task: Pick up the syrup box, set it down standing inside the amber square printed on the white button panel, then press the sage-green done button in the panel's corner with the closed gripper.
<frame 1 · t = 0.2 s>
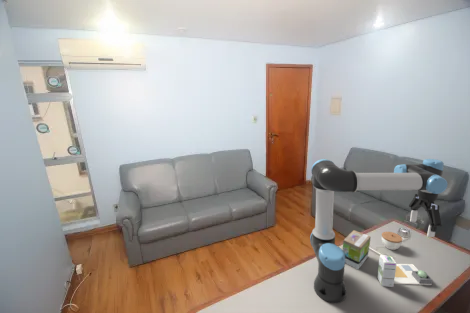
hand: (421, 228, 113), 27 cm above the table, fingers open, 13 cm apart
done button: (421, 277, 115), point 2 cm above the table, slide at 0.0 cm
white button panel: (403, 274, 120), on the table
lidded jar: (390, 247, 141), on the table
tea box: (354, 259, 132), on the table
syrup box: (384, 282, 115), on the table
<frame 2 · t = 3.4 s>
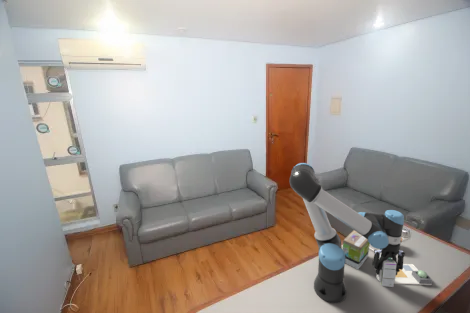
hand: (385, 279, 115), 2 cm above the table, fingers closed on syrup box, 6 cm apart
syrup box: (384, 282, 115), on the table, touching gripper
everything else where it was.
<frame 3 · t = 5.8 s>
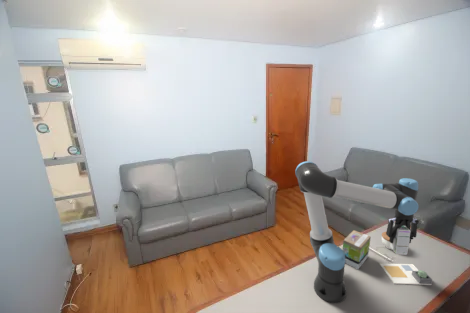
hand: (398, 247, 117), 16 cm above the table, fingers closed on syrup box, 6 cm apart
syrup box: (398, 251, 118), point 14 cm above the table, touching gripper
everything else where it was.
when the fingers open (4 cm above the table, at t = 8.1 s): syrup box drops 1 cm, resting on white button panel.
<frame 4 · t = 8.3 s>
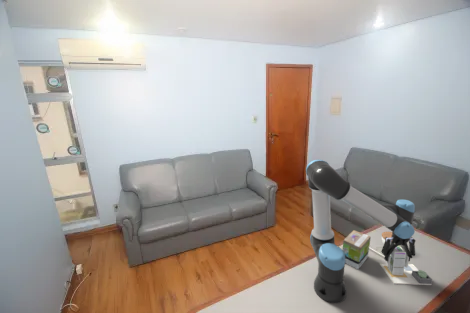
hand: (396, 265, 120), 5 cm above the table, fingers open, 8 cm apart
syrup box: (394, 271, 121), point 1 cm above the table, touching white button panel
everything else where it was.
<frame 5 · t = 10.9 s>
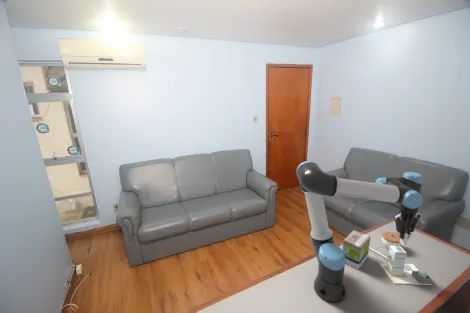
hand: (403, 243, 116), 19 cm above the table, fingers closed
nothing on the table moved.
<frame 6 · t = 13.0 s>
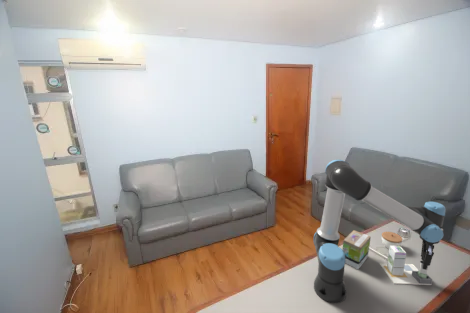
hand: (422, 272, 114), 5 cm above the table, fingers closed
done button: (421, 277, 115), point 1 cm above the table, slide at 0.2 cm, touching gripper
everything else where it was.
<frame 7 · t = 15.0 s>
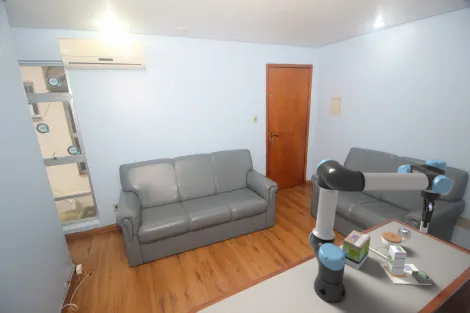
hand: (423, 231, 116), 24 cm above the table, fingers closed
done button: (421, 278, 115), point 1 cm above the table, slide at 0.9 cm
everything else where it was.
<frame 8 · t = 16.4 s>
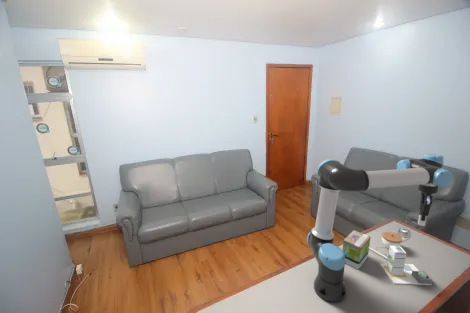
hand: (421, 224, 118), 26 cm above the table, fingers closed
nothing on the table moved.
at the end: syrup box inside the target area on the white button panel (0.3 cm from its centre), point 0.5 cm above the white button panel's base; syrup box tilted 0°; done button slide at 0.9 cm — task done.
